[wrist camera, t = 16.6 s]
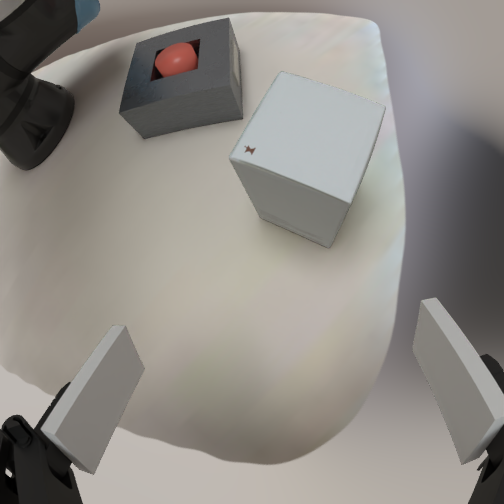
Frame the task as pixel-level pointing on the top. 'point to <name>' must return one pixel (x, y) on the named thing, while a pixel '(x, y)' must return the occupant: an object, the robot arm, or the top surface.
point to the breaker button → (176, 59)
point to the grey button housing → (185, 82)
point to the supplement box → (306, 154)
